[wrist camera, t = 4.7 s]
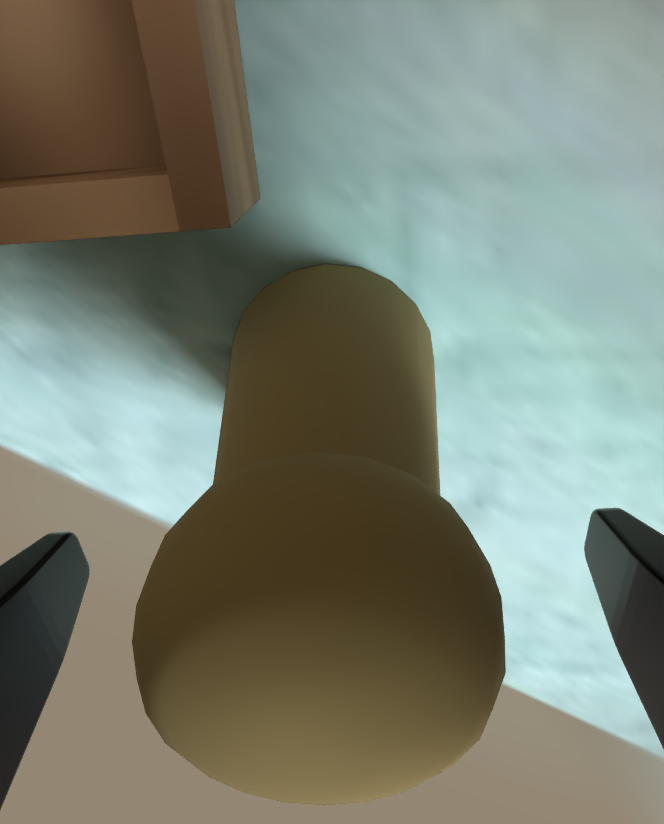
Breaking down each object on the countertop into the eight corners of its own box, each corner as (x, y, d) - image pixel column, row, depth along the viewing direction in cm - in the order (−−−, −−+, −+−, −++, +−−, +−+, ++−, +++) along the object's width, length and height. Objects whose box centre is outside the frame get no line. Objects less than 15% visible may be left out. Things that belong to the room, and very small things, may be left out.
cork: (476, 338, 15) (699, 711, 6) (358, 478, 18) (377, 899, 8) (297, 218, 14) (193, 454, 4) (197, 391, 16) (-11, 783, 7)
